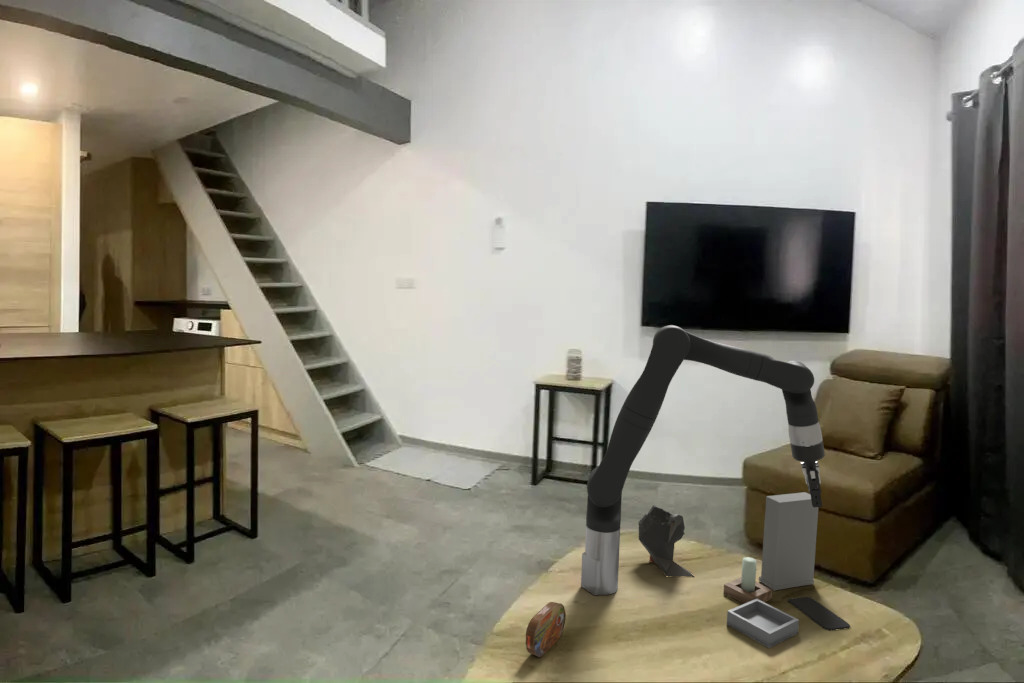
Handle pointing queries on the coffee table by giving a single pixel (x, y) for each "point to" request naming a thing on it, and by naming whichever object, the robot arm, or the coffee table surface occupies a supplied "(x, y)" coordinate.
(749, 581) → the pale green rounded cylinder
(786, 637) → the tray
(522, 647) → the coffee table surface
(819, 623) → the phone
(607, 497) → the robot arm
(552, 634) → the tin
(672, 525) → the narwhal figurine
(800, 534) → the tall grey upright box
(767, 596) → the brown hollow square block
